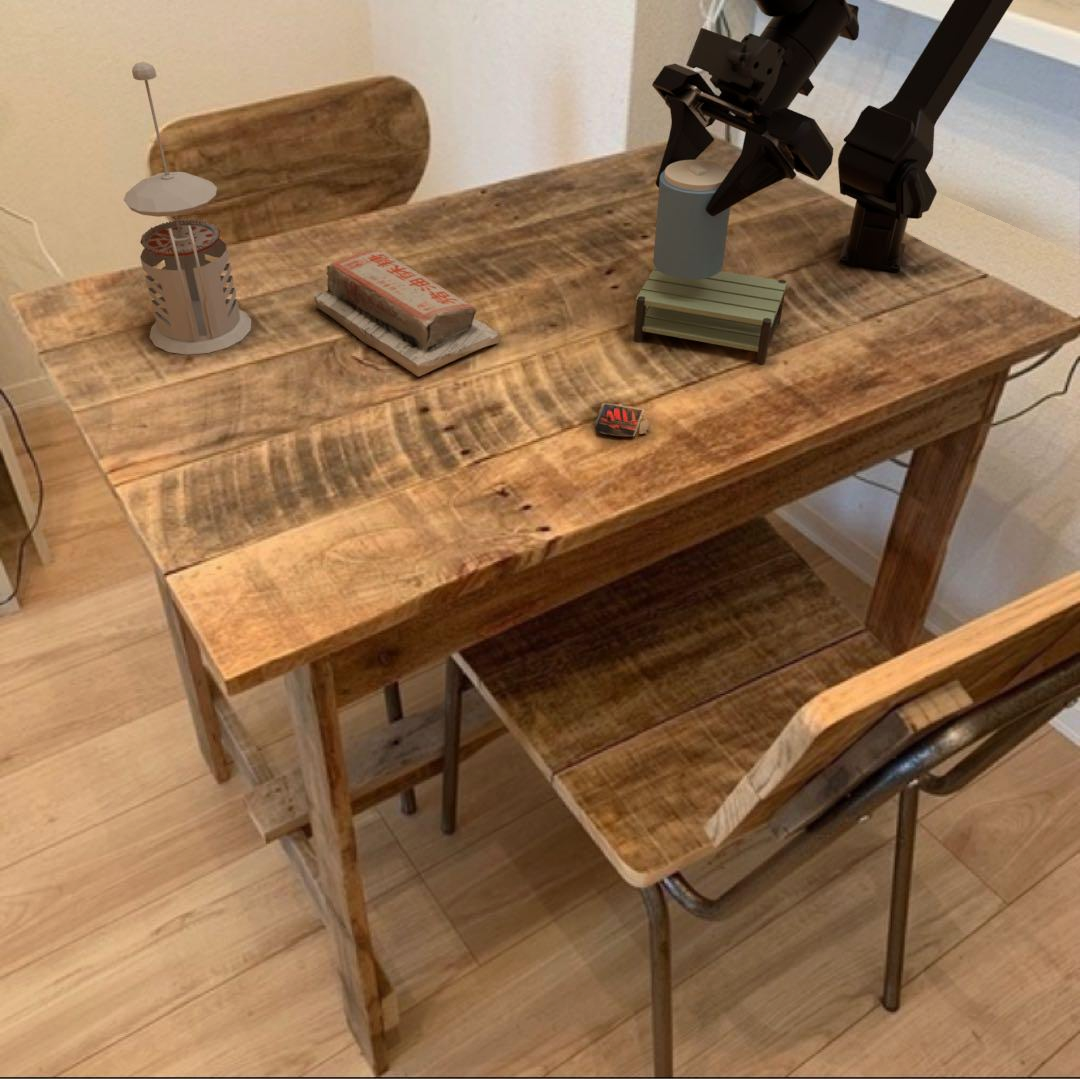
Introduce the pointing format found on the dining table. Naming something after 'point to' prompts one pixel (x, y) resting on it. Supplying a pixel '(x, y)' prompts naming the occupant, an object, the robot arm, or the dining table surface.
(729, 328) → the rack
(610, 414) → the matchbox
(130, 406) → the dining table surface
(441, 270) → the dining table surface
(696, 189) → the tissue tub
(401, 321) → the packaged product
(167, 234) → the french press
